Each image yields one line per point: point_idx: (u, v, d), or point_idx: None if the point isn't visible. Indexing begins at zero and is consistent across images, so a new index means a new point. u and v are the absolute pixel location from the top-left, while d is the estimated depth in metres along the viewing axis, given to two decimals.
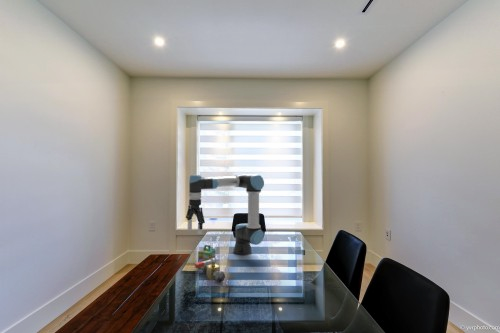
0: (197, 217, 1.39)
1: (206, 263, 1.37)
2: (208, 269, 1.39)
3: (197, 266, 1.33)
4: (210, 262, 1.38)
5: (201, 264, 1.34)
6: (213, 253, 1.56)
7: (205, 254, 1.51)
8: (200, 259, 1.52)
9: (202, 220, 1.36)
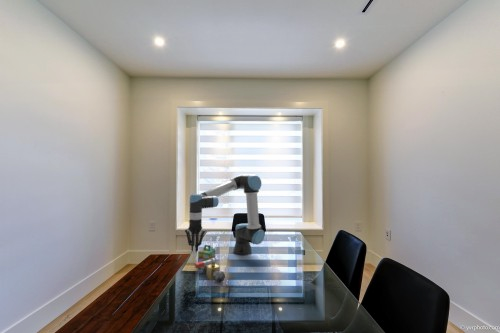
0: (196, 239, 1.38)
1: (206, 263, 1.37)
2: (208, 269, 1.39)
3: (197, 266, 1.33)
4: (210, 262, 1.38)
5: (201, 264, 1.34)
6: (213, 253, 1.56)
7: (205, 254, 1.51)
8: (200, 259, 1.52)
9: None
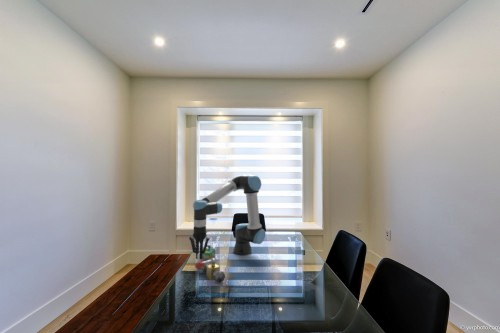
0: (201, 247, 1.36)
1: (206, 263, 1.37)
2: (208, 269, 1.39)
3: (197, 266, 1.32)
4: (210, 262, 1.38)
5: (201, 264, 1.34)
6: (213, 253, 1.56)
7: (205, 254, 1.51)
8: None
9: (205, 250, 1.37)
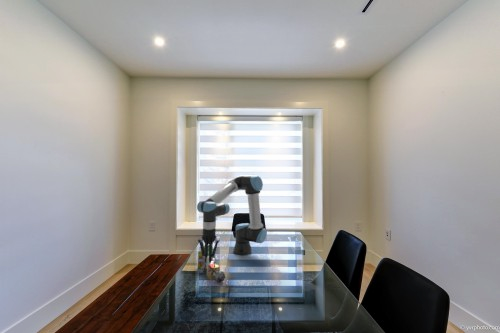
0: (210, 249, 1.31)
1: (213, 264, 1.36)
2: (208, 269, 1.39)
3: (212, 269, 1.29)
4: (214, 262, 1.38)
5: (213, 266, 1.32)
6: None
7: None
8: (200, 259, 1.52)
9: (214, 253, 1.32)
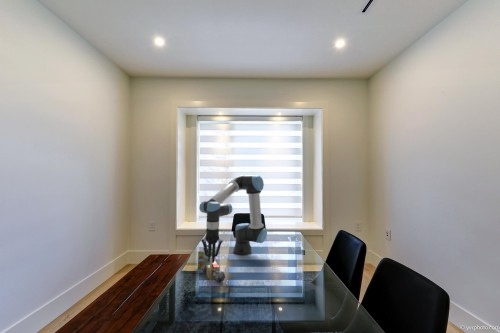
0: (213, 250, 1.31)
1: None
2: (208, 269, 1.39)
3: (217, 268, 1.30)
4: None
5: None
6: None
7: None
8: (200, 259, 1.52)
9: (217, 253, 1.32)
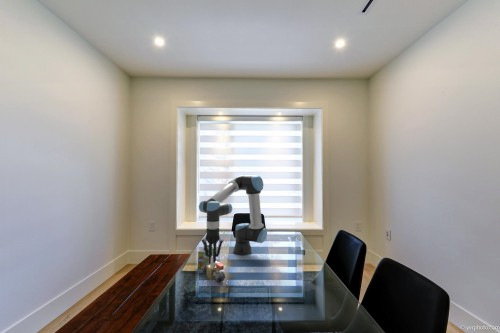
0: (214, 249, 1.30)
1: None
2: (208, 269, 1.39)
3: None
4: None
5: None
6: None
7: (205, 254, 1.51)
8: (200, 259, 1.52)
9: None
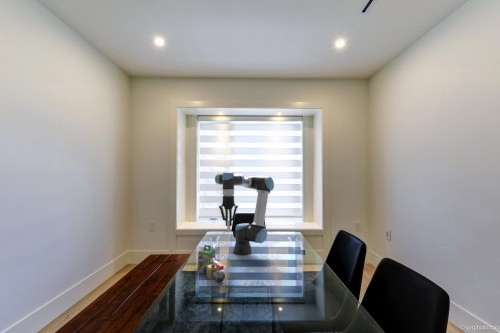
0: (230, 214, 1.46)
1: None
2: (208, 269, 1.39)
3: None
4: None
5: None
6: (213, 253, 1.56)
7: (205, 254, 1.51)
8: (200, 259, 1.52)
9: (234, 217, 1.47)
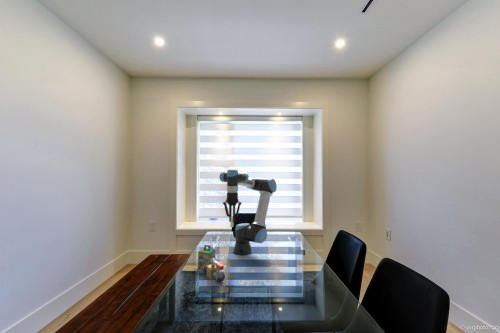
0: (234, 210, 1.50)
1: None
2: (208, 269, 1.39)
3: None
4: None
5: None
6: (213, 253, 1.56)
7: (205, 254, 1.51)
8: (200, 259, 1.52)
9: (237, 214, 1.51)
